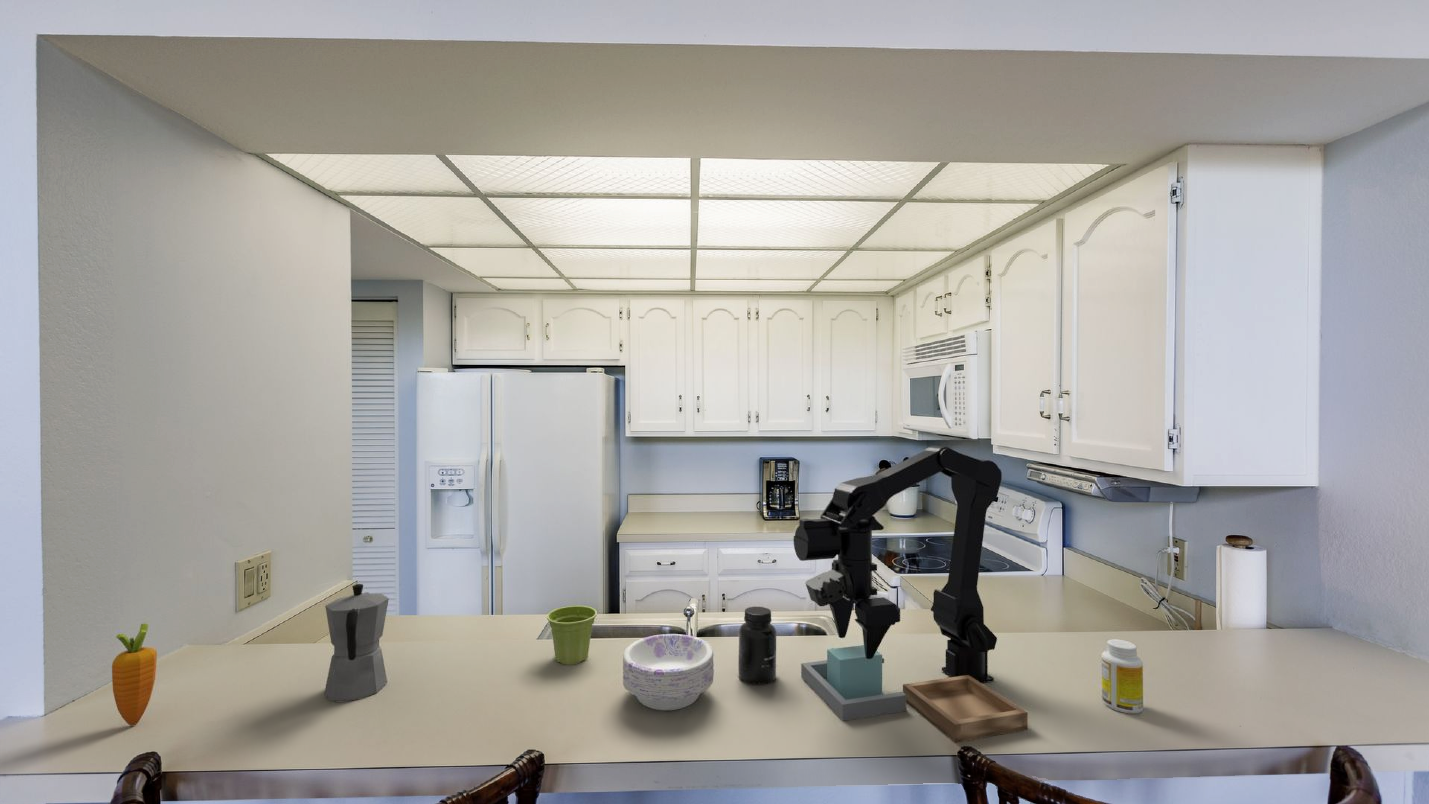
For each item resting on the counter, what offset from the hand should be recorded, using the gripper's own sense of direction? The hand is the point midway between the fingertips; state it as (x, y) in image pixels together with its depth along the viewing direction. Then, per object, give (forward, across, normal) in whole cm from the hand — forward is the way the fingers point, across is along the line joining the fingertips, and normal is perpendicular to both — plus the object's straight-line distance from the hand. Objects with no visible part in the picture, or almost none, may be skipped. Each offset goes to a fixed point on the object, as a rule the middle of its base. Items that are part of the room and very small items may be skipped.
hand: (855, 647), depth 100 cm
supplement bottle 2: (+8, +16, +40) cm, 44 cm away
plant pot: (+8, -27, -46) cm, 54 cm away
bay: (+8, 0, 0) cm, 8 cm away
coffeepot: (+8, -23, -82) cm, 86 cm away
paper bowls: (+8, -7, -31) cm, 33 cm away
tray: (+8, +11, +13) cm, 19 cm away
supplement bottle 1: (+8, -10, -14) cm, 19 cm away
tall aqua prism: (+8, 0, 0) cm, 8 cm away
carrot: (+7, -20, -111) cm, 113 cm away
